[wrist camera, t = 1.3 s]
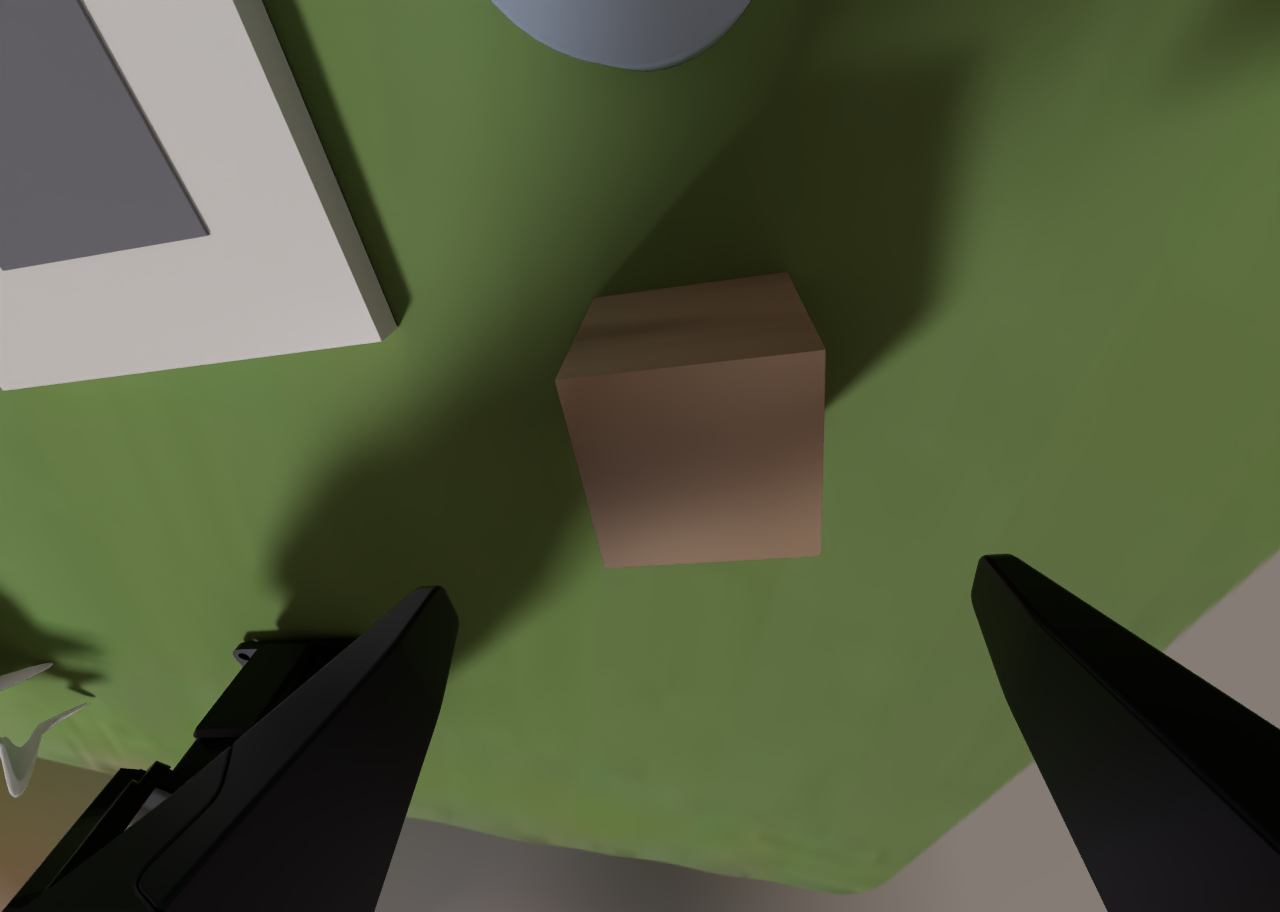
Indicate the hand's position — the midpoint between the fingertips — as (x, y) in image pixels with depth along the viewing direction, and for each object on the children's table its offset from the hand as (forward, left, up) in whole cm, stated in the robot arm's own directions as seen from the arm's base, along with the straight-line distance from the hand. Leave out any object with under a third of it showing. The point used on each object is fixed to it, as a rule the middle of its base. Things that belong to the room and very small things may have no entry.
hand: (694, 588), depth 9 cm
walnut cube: (0, 0, -8) cm, 8 cm away
